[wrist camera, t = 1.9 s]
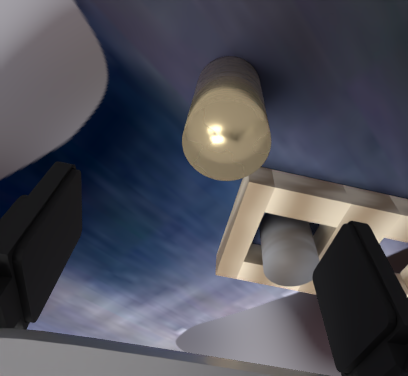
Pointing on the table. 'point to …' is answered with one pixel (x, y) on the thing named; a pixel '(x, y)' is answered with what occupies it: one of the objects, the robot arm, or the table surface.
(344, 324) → the robot arm
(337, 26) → the table surface
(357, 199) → the jig
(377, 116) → the table surface
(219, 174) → the gold metallic cylinder
